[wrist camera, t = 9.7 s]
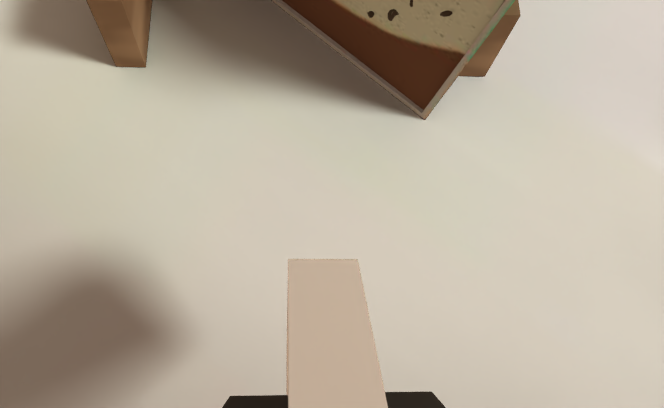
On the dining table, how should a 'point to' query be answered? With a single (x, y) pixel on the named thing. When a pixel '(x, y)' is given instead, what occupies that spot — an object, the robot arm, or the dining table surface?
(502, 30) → the caddy
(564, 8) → the dining table surface
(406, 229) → the dining table surface
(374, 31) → the food container
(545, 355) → the dining table surface
